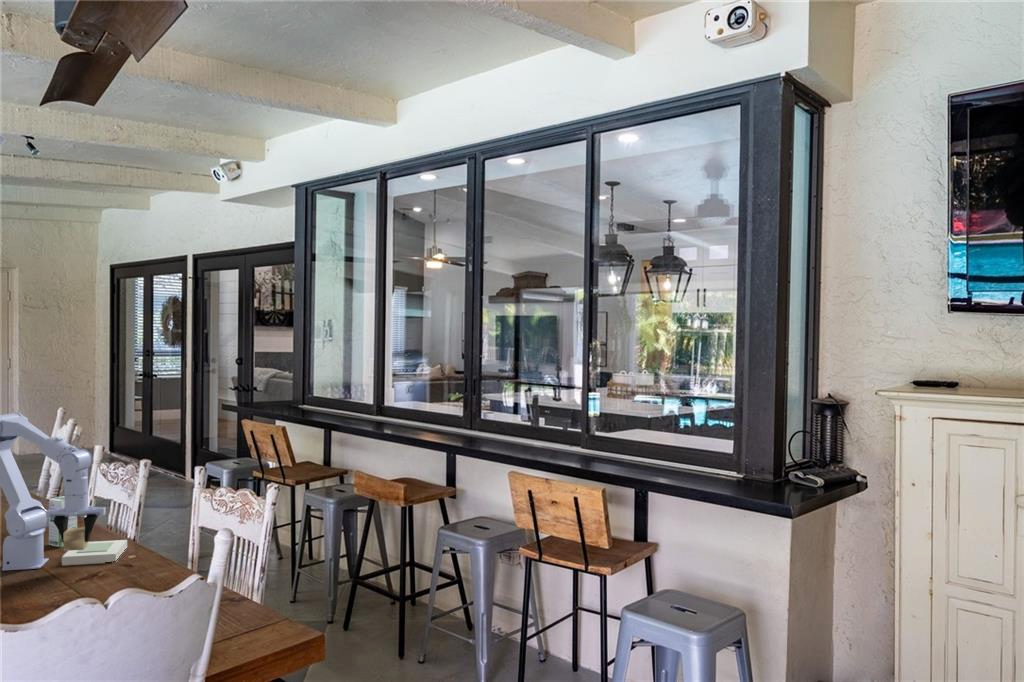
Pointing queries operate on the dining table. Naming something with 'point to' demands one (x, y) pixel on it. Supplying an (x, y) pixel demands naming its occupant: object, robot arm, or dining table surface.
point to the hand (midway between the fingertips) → (76, 541)
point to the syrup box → (53, 530)
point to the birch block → (75, 539)
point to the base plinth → (95, 553)
